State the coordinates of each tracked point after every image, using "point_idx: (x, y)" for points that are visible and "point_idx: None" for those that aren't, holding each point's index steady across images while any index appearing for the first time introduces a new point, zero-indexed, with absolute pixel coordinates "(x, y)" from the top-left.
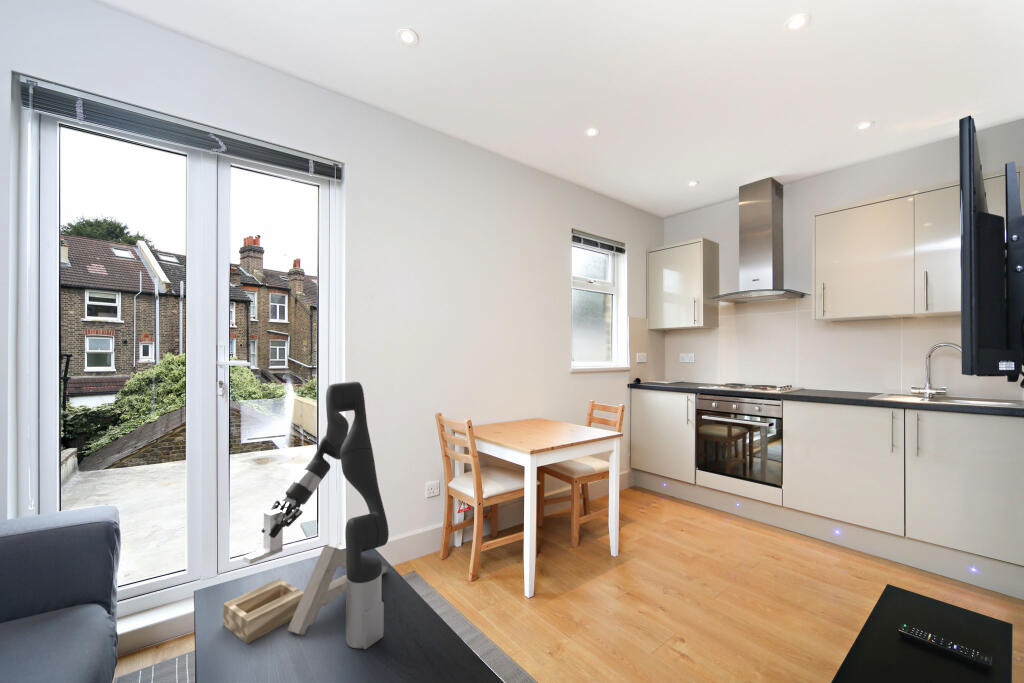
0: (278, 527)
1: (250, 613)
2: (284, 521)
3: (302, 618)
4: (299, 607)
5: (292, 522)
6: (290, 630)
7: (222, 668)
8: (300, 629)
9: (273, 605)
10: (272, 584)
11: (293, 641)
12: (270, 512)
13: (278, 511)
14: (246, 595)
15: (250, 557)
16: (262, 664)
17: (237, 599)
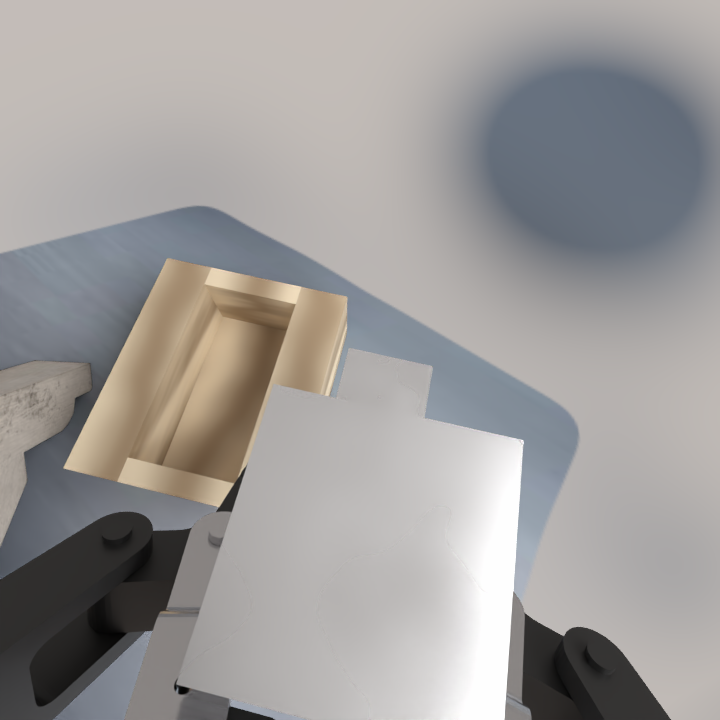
0: (223, 505)
1: (191, 288)
2: (93, 533)
3: (10, 371)
4: (25, 381)
5: (36, 655)
6: (74, 363)
7: (181, 223)
8: (25, 364)
9: (140, 349)
10: None
11: (52, 349)
12: (398, 491)
13: (275, 617)
14: (311, 361)
15: (368, 365)
16: (84, 260)
17: (321, 331)
